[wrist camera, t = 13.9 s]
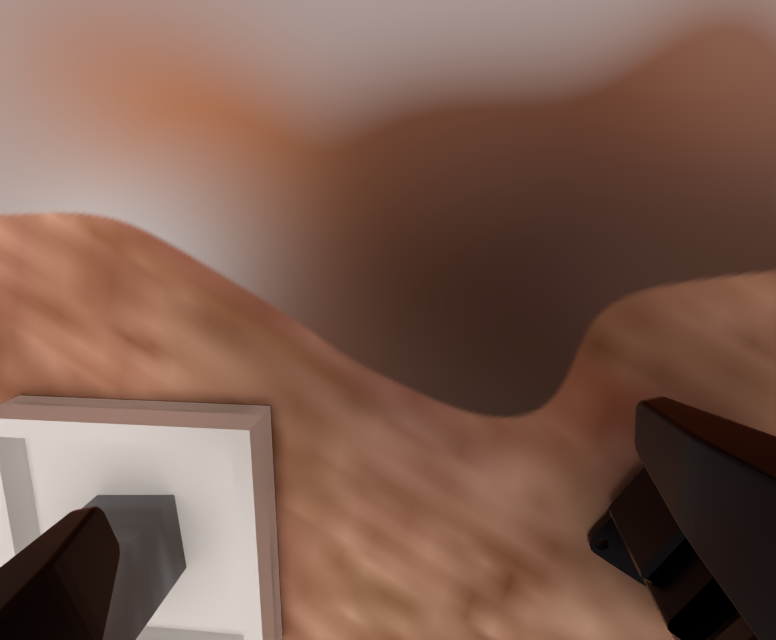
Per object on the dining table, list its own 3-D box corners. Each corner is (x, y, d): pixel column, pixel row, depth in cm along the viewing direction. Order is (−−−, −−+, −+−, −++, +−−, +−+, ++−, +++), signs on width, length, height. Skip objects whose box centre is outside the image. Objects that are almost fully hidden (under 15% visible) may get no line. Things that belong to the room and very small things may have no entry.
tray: (270, 405, 24) (249, 430, 21) (282, 635, 26) (265, 680, 24) (19, 395, 25) (-28, 417, 22) (55, 615, 27) (16, 656, 25)
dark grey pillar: (186, 567, 25) (-49, 901, 13) (111, 566, 25) (-181, 888, 13) (174, 494, 24) (-89, 781, 12) (97, 495, 24) (-227, 772, 13)
